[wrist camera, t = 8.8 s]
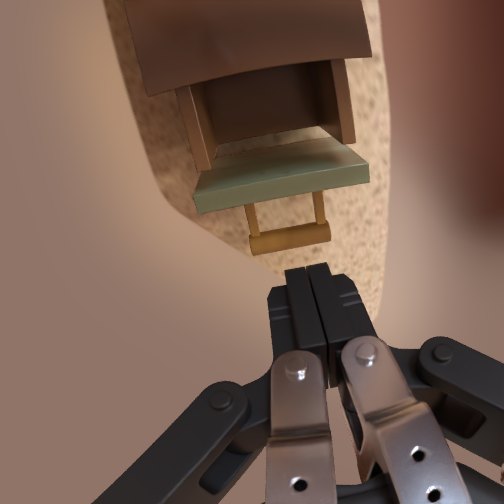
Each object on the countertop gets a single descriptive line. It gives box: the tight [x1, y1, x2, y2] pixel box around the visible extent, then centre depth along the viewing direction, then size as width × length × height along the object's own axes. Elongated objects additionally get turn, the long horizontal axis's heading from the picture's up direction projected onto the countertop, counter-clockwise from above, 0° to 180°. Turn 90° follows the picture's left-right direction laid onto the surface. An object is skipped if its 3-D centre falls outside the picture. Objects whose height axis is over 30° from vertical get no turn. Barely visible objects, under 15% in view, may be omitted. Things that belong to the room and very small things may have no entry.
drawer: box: [175, 59, 370, 256], centre depth 19 cm, size 18×10×7 cm, turn 12°
